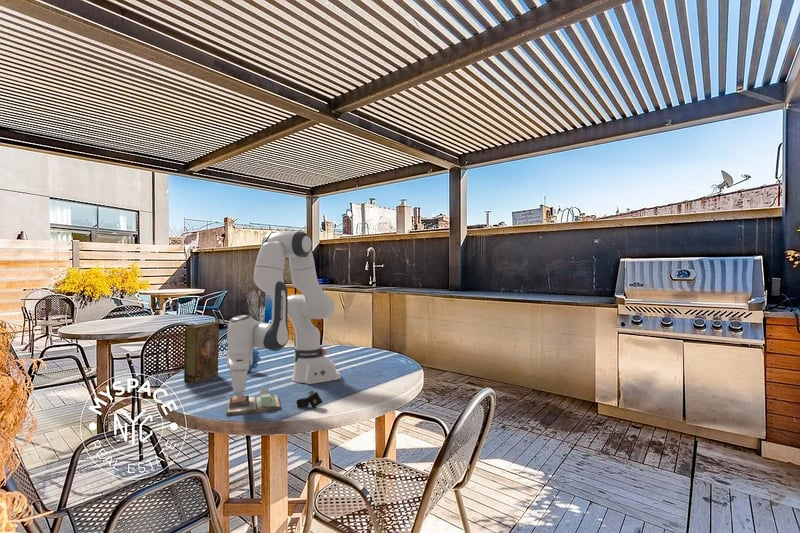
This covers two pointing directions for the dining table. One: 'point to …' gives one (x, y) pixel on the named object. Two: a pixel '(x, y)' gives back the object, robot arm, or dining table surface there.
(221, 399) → the dining table surface
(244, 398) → the button
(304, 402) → the black angular piece
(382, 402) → the dining table surface
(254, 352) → the grapes
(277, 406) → the picture board
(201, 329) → the book
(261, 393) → the marker
